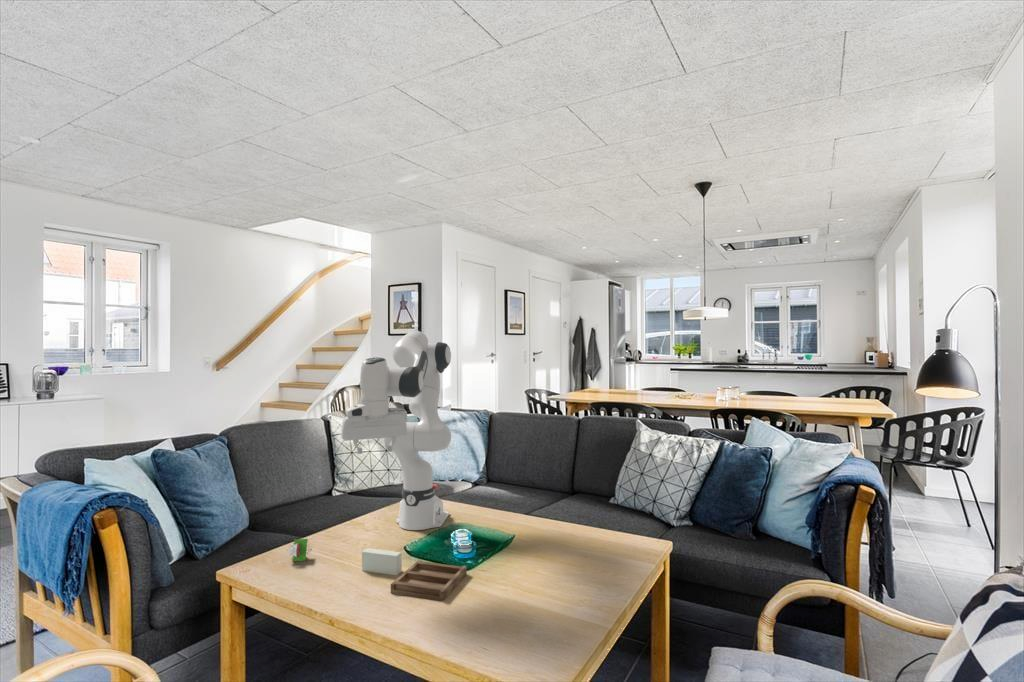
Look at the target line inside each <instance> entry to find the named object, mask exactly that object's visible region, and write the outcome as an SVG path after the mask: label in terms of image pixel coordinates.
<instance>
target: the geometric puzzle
mask: <svg viewBox="0 0 1024 682" xmlns="http://www.w3.org/2000/svg"><path fill="white" fill-rule="evenodd" d="M292 543H293V544H292V545H290V546H289V548H288V549H287V553H288V554H289V555H290V556H292V558H291V560H292V562H303V561H305V562H306V561H307V558H308V557H309V552H310V553H311V552H312V550H313V548H311V547H310V546H309V545H311V543H310V542H309V540H308V538H301V539H300V538H299V539H293V542H292ZM307 547H308V548H307Z"/></svg>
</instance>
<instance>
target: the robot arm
mask: <svg viewBox="0 0 1024 682" xmlns="http://www.w3.org/2000/svg"><path fill="white" fill-rule="evenodd" d="M392 358H393V361H394V363H395V364H396V365H397V366H398V367H395V366H394V367H389V366H388V363H387V359H386V358H384V357H369V358H366V359H364V360H363V361H362V362H361V366H360V373H359V375H360V376H359V377H360V378H359V388H360V390H361V391H360V392H361V394H360V399H359V403H358V404H355V405H353V406H350V407H347V408H346V409H345V417H344V418H343V420H342V424H341V431H340V433H341V435H340V437H341V439H342V440H343V441H344V442H346V441H352V444H353V445H354V446H355V448H356V454H357V455H362V454H363V447H360V446H359V445H358V444H359V441H361V440H373V439H383V442H384V444H385V446H386V451H387V453H388V452H392V453H393V454H394V455H395V456H396V457H397V459H398V461H399V463H400V465H401V469H402V479H403V481H402V482H403V487H402V490H401V494H402V495H401V497H402V499H401V500H400V502H399V510H398V511H399V512H398V518H396V519H395V523H397V524H398V525H399V527H400V528H401V529H404V530H408V531H423V530H429V529H433V528H440V527H442V526H443V525H444V523H445V521H446V520H447V518H448V517H449V515H450V512H449V511H447V510H445V509H444V502H443V500H442V499H441V498H439V497H438V496H437V495H436V490H438V488H439V487H438V484H436V483H434V484H433V474H434V473H433V472H434V471H433V466H432V465H431V463H429V461H427V460H425V459H423V458H422V457H421V456H420V455H419V452H433V453H434V452H439V451H444V450H446V449H447V448H448V447H449V446H450V444H451V442H452V432H451V429H450V427H449V426H448V425H447V424H446V423H444V422H443V420H441V418H440V416H439V413H438V412H439V411H438V410H439V409H438V408H439V406H438V405H439V397H440V391H441V377H440V376H441V375H440V374H443V373H444V371H445V370H446V369H447V368H448V367H449V365H450V363H451V362H452V361H451V360H452V352H451V348H450V346H449V345H448V344H447V343H445V342H439V341H438V342H429V339H428V337H427V335H426V334H425V333H424V332H422V331H420V330H411V331H410V332H408V333H406V334H405V335H403V336H402V337H401V338H400V339H399V340H398V341H397V342H396V343H395V345H394V347H393V349H392ZM389 397H405V398H409V403H408V409H409V412H410V413H411V414H412V415H414V416H415V417H416V418H418V419H420V421H407V419H408V412H407V410H406V409H405V408H403V407H390V406H389V405H390V404H389V400H390V399H389Z"/></svg>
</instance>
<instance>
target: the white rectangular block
mask: <svg viewBox="0 0 1024 682" xmlns="http://www.w3.org/2000/svg"><path fill="white" fill-rule="evenodd" d="M402 560H403V558H402V552H401V551H394V550H386V549H378V548H370V547H367V548H365V549H363V551H361V571H363V572H369V573H377V574H384V575H391V576H398V575H399V574H400V573H401V572H403V570H402V568H403V565H402Z"/></svg>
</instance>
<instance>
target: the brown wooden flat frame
mask: <svg viewBox="0 0 1024 682" xmlns="http://www.w3.org/2000/svg"><path fill="white" fill-rule="evenodd" d="M467 569H468V568H467V565H461V566H459V565H452V564H442V563H437V562H429V561H422V560H421V559H418V560H417V561H415V563H414V564H412V565H410V567H409V568H408V569H406V570H405V571H404V572H402V574H401V575H399V576H398V577H397V578H396V579H395V580H394V581H393V582H391V583H390V594H396V595H402V596H407V597H414V598H415V597H416V598H420V599H421V598H422V599H429V600H434V601H440V602H441V601H442V602H444V600H446V598H447V597H448V596H449V595H450V594H451V593H452V591H453V590H454V589H456V587H457V586H458V584H459V583H460V582H461V581H462V580H463V579H464V578H465V577H466V575H467Z"/></svg>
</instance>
